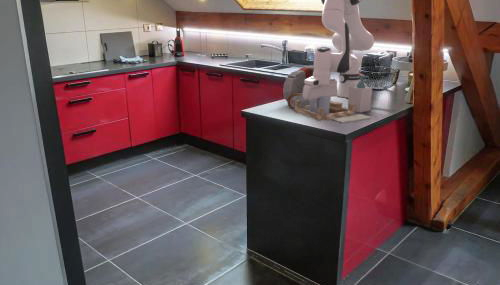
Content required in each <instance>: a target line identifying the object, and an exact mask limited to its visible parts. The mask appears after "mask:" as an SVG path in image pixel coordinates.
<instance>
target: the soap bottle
mask: <svg viewBox="0 0 500 285" xmlns="http://www.w3.org/2000/svg"><path fill="white" fill-rule="evenodd" d="M363 75H364V74H363ZM363 75H359V76H360V81H359V83H358V84H357V85H355V86H350V87H349V98H348V99H347V108H346V109H349V104H355V109H354V113H355V112H356V113H358V114H362V113H365V112H369V111H370V110H371V106H372V105H371V103H372V96H373V87H372V86H368V85H367V86H365V84H366V83H365V82H364V78H367V79H369V78H370V76H369V75H364V76H363ZM364 83H365V84H364Z"/></svg>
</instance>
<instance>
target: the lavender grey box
mask: <svg viewBox="0 0 500 285" xmlns="http://www.w3.org/2000/svg"><path fill="white" fill-rule="evenodd" d="M316 102H317V104H318V107H314V102H313V99H312V100H310V110H309V111H311V112H314V113H316V114H317V113H318V108H323V109H324V110H323V115H324V114H330V113H329V106H330V97H327V96H320V99H317V101H316Z"/></svg>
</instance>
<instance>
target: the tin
mask: <svg viewBox="0 0 500 285" xmlns="http://www.w3.org/2000/svg"><path fill="white" fill-rule="evenodd" d="M295 100H300V101H301V102H300V106H306V105H310V100H306V99H304V98H303V93H293V94H291V95H290V96H289V97H288V100H287V101H286V103H287V105H288V107H289V108H292V109H294V110H295Z"/></svg>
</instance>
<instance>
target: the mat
mask: <svg viewBox="0 0 500 285" xmlns="http://www.w3.org/2000/svg"><path fill="white" fill-rule="evenodd" d="M370 119H372V118H371V116H368V115H365V114H363V113H358V114H354V115H352V116H346V117H339V118H333V119H332V120H333V121H335V122H337V123H340V122H341V123H340V124H346V123H351V122H357V121H364V120H370Z"/></svg>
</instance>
